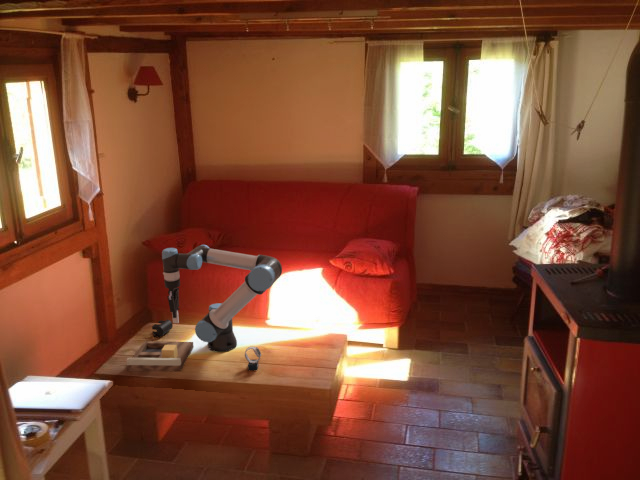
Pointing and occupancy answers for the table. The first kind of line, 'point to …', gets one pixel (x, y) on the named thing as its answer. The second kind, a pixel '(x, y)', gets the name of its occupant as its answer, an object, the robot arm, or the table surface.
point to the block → (169, 351)
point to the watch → (253, 363)
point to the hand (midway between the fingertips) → (175, 322)
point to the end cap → (162, 328)
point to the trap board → (159, 357)
